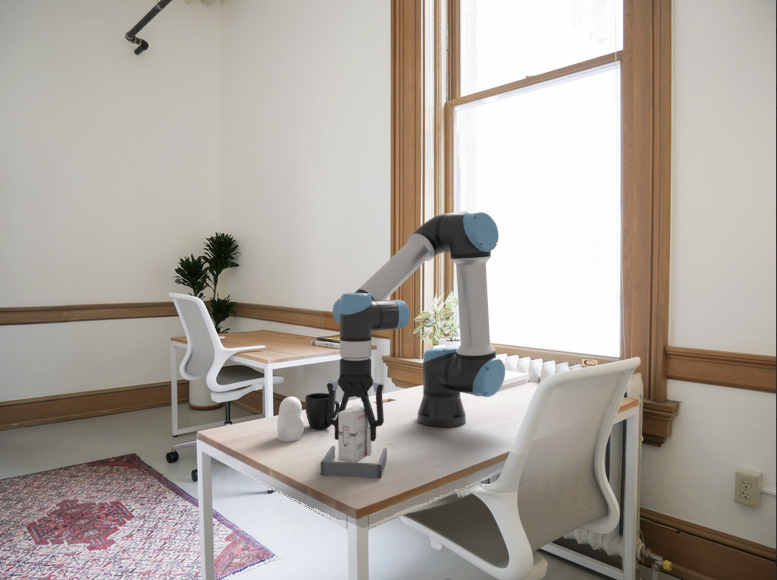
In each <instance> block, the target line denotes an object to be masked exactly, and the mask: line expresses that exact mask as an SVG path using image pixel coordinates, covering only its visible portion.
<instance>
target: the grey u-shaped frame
mask: <svg viewBox="0 0 777 580" xmlns="http://www.w3.org/2000/svg"><path fill="white" fill-rule="evenodd" d="M335 458H336V446H335V445H331V446H330V448H329V449H328V451H327V452H326V453H325V455H324V457H323V458H322V460H321V461H320V475H321V476H329V477H330V476H332V477H354V478H355V477H357V478H373V479H376V478H377V479H381V478H382V475H383V474H384V470H385V467H386V464H387V461H388V448H387V447H384V448H383V449H382V452H381V454H380V457H379V460H378V462H377V463H376V462H375V463H374V462H373V463H371V462H357V463H355V462H343V461H334V460H335Z"/></svg>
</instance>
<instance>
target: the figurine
mask: <svg viewBox="0 0 777 580" xmlns="http://www.w3.org/2000/svg"><path fill="white" fill-rule="evenodd" d="M302 410H303V406H302V402H301V401H300V399H298V397H295V396H288V397H284V399H283V400H282V401H281V403H280V405H279V408H278V416H277V425H276V426H277V431H276V433H277V438H278V440H279V441H281V442H296V441H298V440H300V439H301V437H302V434H303V432H305V431H304V430H305V421H304V418H303V415H302V412H303V411H302Z"/></svg>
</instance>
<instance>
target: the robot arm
mask: <svg viewBox="0 0 777 580" xmlns="http://www.w3.org/2000/svg"><path fill="white" fill-rule="evenodd" d="M499 237H500V236H499V229H498V225H497V222H496V221H495V219H494V218H493V217H492V216H491V214H489V213H488V212H487V211H485V210H473V209H472V210H466V211H458V212H450V213H449V212H447V213H446V212H445V213H440V214H438V215H436V216H434V217H432V218H430V219H429V220H427V221H425V223H422V224H421V225H420V226H419V227H418V228H417V229H415V230H414V231H413V232H412V233H411V234H410V235H409V236H408V238H407V242H406V244H405V245H403V246H402V247H401V249H399V250H397V252H396V253H395V254H394V255H392V257H391V258H390V259H389V260H387V261H386V263H384V264H383V265H382V266H381V267H380V268H379V269H378V270H377V271H376V272H375V273H373V274H372V276H370V277H369V279H367V280H366V281H365V282H364V283H363V284H362V285H361V286H360V287H359V288H358V289H357V290H356V291H355V292H346V293H343V294H342V295H340V298H338V299H336V301H335V302H334V304H333V306H332V316H333V319H334V320H335V322H337V323H338V324H339V356H340V357H341V358H340V360H339V377H338V379H337V380H334V381H332V380H331V381H329V382H328V383H327V384H326V389H327V390H328V391H327V392H328V394H329V398H328V412H327V423H328V424H332V425H333V426H334V439H335V441H339V418H338V414H339V412H341V411H343V410H345V409H347V406H348V402H349V400H350V398H353V397H355V398H360V400H361V402H362V405H364V408H365V412H366V415H367V418H368V421H369V424H370V426H368V428H367V456H366V457H371V454H372V453H373V452H372V451H373V449H372V448H373V445H372V444H373V442H375V441H376V439H377V428H378V427H381V426H383V424H384V422H385V419H384V417H385V416H384V415H385V414H384V405H383V404H384V401H383V400H384V399H383V390H384V386H385V384H384V382H377V381H374V379H373V377H372V359H371V356H372V333H373V332H379V331H380V332H381V331H389V330H391V331H395V330H399V329H403V328H405V327H406V326H407V325H408V323H409V321H410V315H411V314H410V312H411V311H410V308H409V306H408V304H407V303H406V302H405V301H404V300H401V299H393V298H392V299H388V298H390V296H392V294H394V292H396V291H397V289H399V288H400V286H402V284H403V283H405V282H406V281H407V279H409V278H410V277H411V276H412V275H413V274H414V273H415V272H416V271H417V270H418V269H419V268H420V266H422V265H423V264H424V263H425V262H429V261H431V260H433V259H434V258H435V256H437V255H439V254H444V253H449V254H450V257H449V258H450V260H451V261H452V262H453V263H454V265H455V267H456V271H455V272H456V283H457V285H456V286H457V287H456V288H457V300H458V301H457V303H458V320H459V336H460V345H459V346H449V347H435V348H429V349H427V350H425V351H424V353H423V360H422V365H423V366H422V380H423V381H422V382H423V383H422V385H423V386H422V388H423V389H422V390H423V393H422V395H423V396H422V399H421V401H420V405H419V407H418V411H417V422H419V423H420V424H421V425H425V426H430V427H437V428H452V427H458V426H462V425H464V424H465V423H466V421H467V420H466V415H467V414H466V411H465V409H464V404H463V401H462V397H461V393H464V394H467V395H472V396H475V397H485V398H490V397H492V396H494V395H496V394H497V393H498V392H499V390H500V389H501V387H502V386H503V384H504V381H505V376H506V367H505V363H504V361H503V360H502V359H500V358H499V357H497V354H496V352H497V351H496V348H495V347H494V346H493V345H492V344H491V339H490V338H491V336H490V335H491V333H490V320H489V296H488V280H487V277H488V276H487V262H488V261H489V260H490V258H491V257H492V256H491V255H492V251H493V250H494V249H495V248H496V247H497V246H498V241H499ZM338 386H339V387H338ZM371 387H373V391H374V392H375V407H376V417H375V413H374V411H373V407H372V404H371V401H370V397H369V394H368V391H369V390H370V389H371ZM338 388H340V389H341V390H342V392H343V395H342V398H341V402H340V407H339V411H338V413H337V416H336V418H334V412H335V408H336V405H335V401H336V395H337V394H336V393H337V390H338ZM376 418H377V419H376ZM332 425H331V426H332Z"/></svg>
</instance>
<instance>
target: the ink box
mask: <svg viewBox="0 0 777 580" xmlns="http://www.w3.org/2000/svg"><path fill="white" fill-rule="evenodd" d="M337 414H338V413H337ZM338 418H339V440H338V462H355V463H360V461H362V460H363V459H364V458H366V457H368V456H367V428H368V426H370V424H369V421H368V418H367V415H366V412H365V408H364V405H363V404H354V405H352V406H350V407H346V409H345V410H343V411H341V412H339V414H338Z"/></svg>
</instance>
